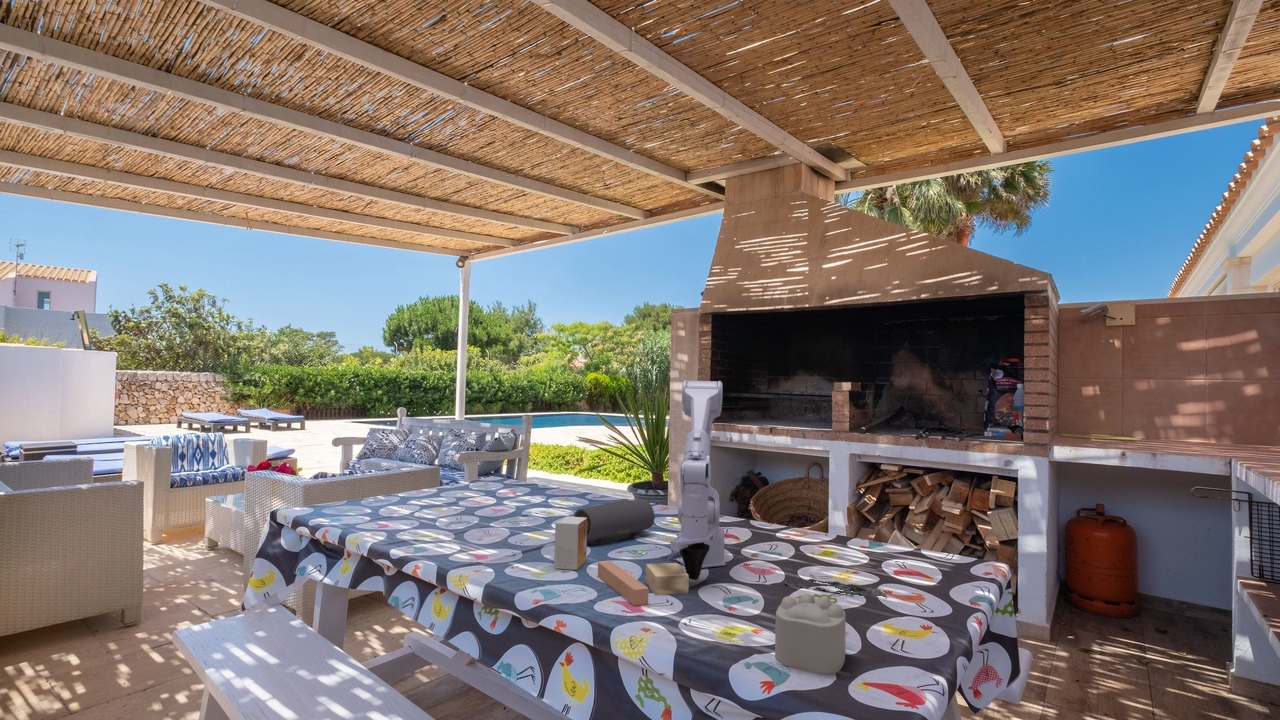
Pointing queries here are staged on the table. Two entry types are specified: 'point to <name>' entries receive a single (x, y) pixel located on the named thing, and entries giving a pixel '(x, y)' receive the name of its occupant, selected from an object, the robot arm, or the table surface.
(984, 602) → the table surface
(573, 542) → the small box
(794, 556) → the table surface
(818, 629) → the lumpy-topped squat cylinder
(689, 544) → the robot arm
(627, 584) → the terracotta batten
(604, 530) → the bluetooth speaker
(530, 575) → the table surface
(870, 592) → the driftwood
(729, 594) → the table surface
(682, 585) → the beech block
